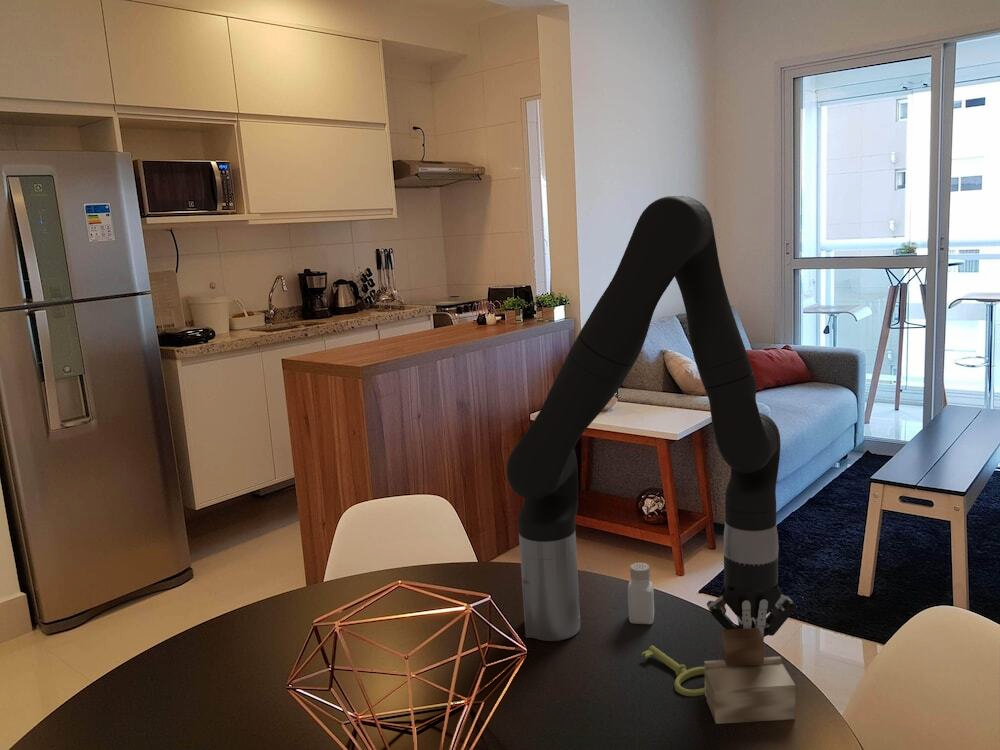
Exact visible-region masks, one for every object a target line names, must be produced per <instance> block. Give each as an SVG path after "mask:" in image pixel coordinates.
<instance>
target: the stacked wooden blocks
mask: <svg viewBox="0 0 1000 750" xmlns="http://www.w3.org/2000/svg"><path fill="white" fill-rule="evenodd" d="M764 638H765V637H763V635H762V633H761V632H760V630H759V628H745V629H729V630H726V629H721V656H722V659H717V660H716V659H715V660H713V659H712V660H703V661H704V662H703V663H704V664H703V667H704V672H705V674H704V687H705V694H704V696H705V698H707V696H706V668H722V667H739V666H755V665H771V664H783V663H782V656H780V655H779V656H764V655H765V650H764V649H765V645H764V643H765V642H764V641H765V640H764Z"/></svg>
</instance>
